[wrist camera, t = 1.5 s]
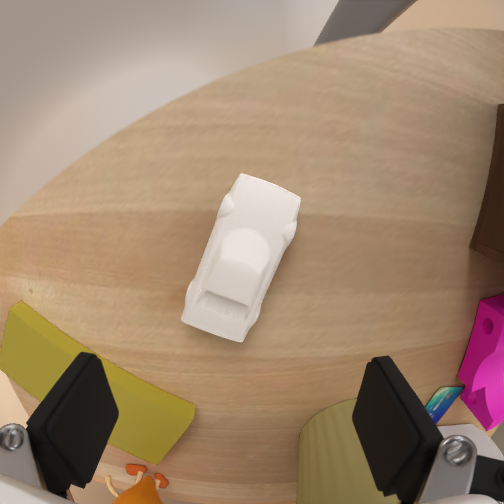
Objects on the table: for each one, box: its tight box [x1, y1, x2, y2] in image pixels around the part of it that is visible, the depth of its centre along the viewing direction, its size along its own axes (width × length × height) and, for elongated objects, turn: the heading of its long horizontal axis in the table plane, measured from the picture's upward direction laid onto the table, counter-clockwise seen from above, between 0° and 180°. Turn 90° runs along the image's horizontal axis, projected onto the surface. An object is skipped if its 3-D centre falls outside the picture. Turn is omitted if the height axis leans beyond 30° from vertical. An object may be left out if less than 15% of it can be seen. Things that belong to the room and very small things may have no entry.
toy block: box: [458, 294, 504, 431], centre depth 22 cm, size 15×6×8 cm, turn 4°
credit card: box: [425, 387, 463, 424], centre depth 28 cm, size 8×5×1 cm, turn 163°
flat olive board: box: [0, 300, 196, 465], centre depth 25 cm, size 12×2×24 cm
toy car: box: [181, 173, 301, 343], centre depth 20 cm, size 6×12×3 cm, turn 158°
